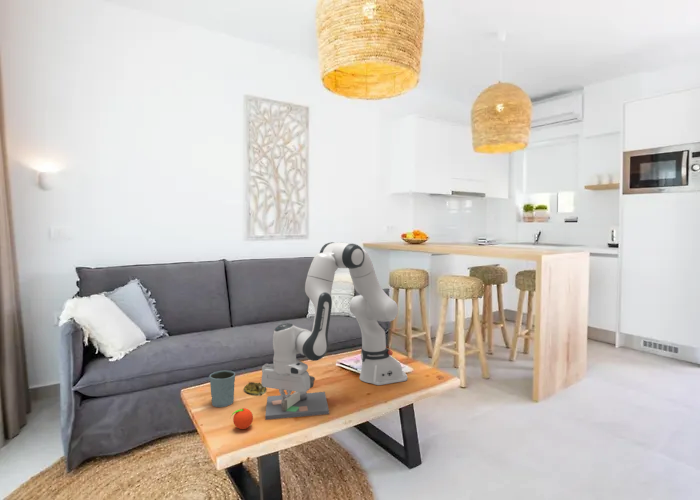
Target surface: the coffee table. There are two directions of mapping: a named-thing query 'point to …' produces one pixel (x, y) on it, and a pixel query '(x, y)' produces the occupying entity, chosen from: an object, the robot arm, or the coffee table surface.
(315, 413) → the dial board
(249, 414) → the clementine
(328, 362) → the coffee table surface
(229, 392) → the grey-green cup
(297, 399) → the control lever
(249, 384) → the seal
